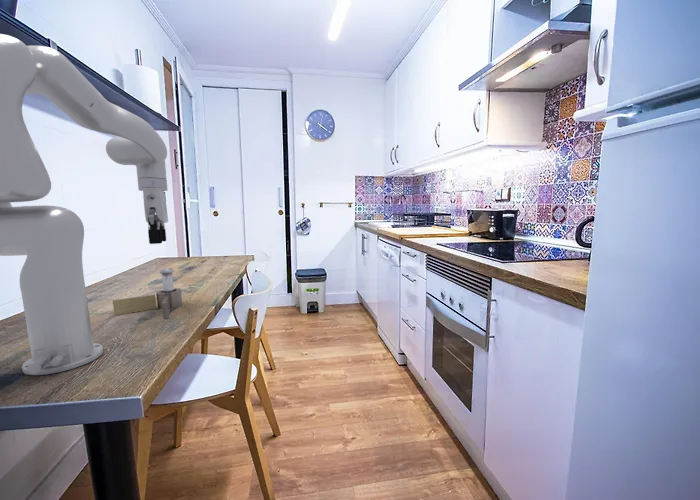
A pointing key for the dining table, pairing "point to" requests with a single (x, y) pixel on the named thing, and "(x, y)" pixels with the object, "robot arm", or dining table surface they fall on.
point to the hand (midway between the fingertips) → (158, 242)
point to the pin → (167, 280)
